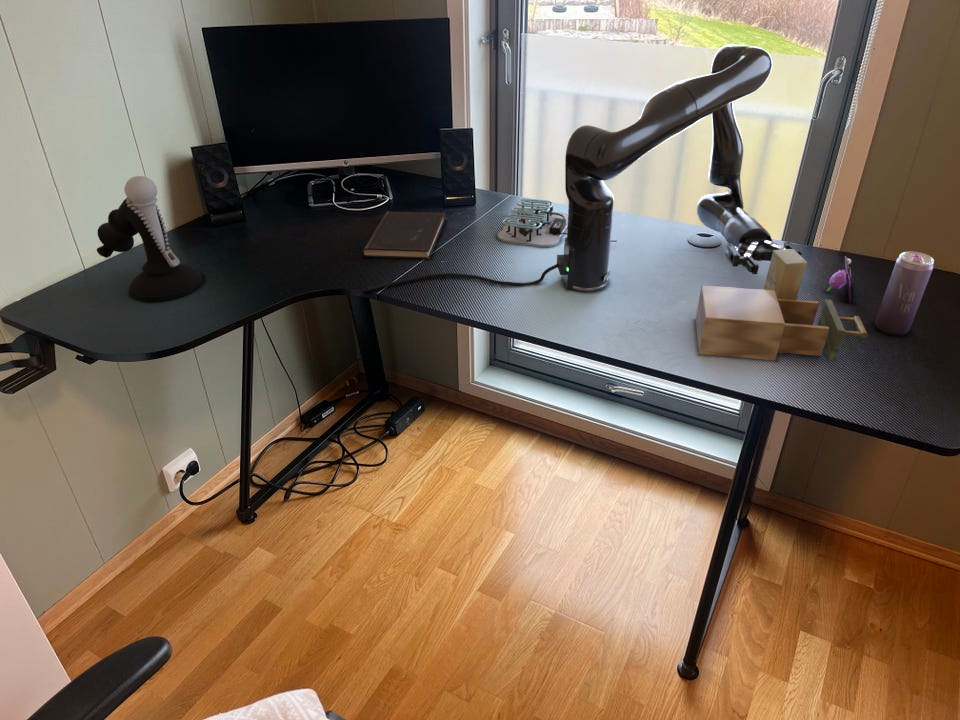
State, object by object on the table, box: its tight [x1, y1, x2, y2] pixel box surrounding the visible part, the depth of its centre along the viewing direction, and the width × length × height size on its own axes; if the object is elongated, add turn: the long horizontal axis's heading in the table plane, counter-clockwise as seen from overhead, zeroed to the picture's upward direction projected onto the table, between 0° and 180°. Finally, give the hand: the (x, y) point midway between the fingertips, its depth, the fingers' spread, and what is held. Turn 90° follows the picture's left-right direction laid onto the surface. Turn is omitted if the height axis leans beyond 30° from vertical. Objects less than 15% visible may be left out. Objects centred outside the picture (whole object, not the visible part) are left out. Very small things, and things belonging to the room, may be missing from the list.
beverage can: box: [874, 250, 935, 336], centre depth 131 cm, size 6×6×15 cm
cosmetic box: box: [762, 249, 808, 300], centre depth 138 cm, size 6×4×12 cm
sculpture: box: [96, 175, 204, 303], centre depth 151 cm, size 15×24×25 cm, turn 71°
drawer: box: [777, 298, 869, 361], centre depth 128 cm, size 17×11×6 cm, turn 79°
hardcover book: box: [362, 210, 446, 260], centre depth 174 cm, size 16×23×2 cm
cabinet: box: [695, 284, 785, 362], centre depth 131 cm, size 13×12×8 cm
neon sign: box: [497, 198, 618, 248], centre depth 175 cm, size 21×4×29 cm
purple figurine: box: [826, 255, 852, 304], centre depth 146 cm, size 7×5×9 cm
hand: (777, 269), depth 140 cm, fingers open, 8 cm apart
